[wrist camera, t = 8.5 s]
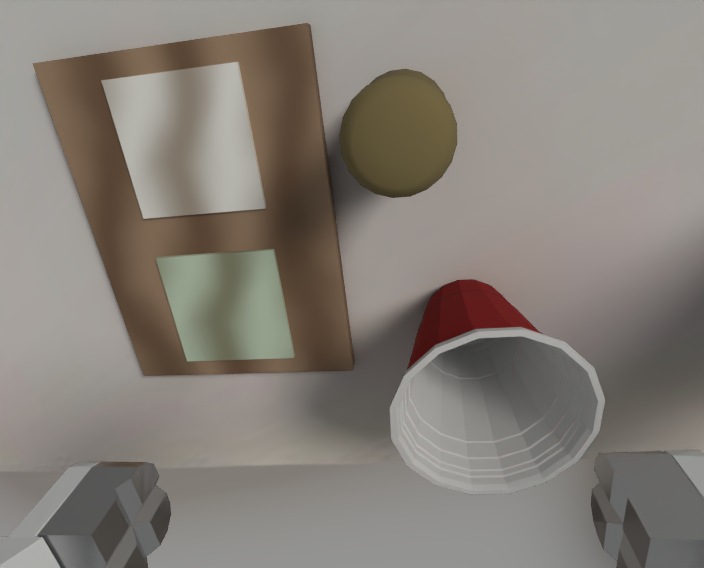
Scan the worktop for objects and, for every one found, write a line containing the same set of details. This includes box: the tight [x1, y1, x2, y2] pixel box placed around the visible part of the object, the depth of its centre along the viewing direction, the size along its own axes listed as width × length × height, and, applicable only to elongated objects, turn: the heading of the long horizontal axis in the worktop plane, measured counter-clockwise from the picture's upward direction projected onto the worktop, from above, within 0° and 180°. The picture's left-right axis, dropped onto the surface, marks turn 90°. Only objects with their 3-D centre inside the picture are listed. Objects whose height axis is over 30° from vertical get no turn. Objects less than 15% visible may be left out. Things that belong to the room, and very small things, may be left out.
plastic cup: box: [390, 280, 605, 495], centre depth 28 cm, size 11×11×12 cm
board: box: [33, 23, 354, 376], centre depth 32 cm, size 18×24×1 cm
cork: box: [340, 69, 457, 198], centre depth 24 cm, size 6×6×11 cm
